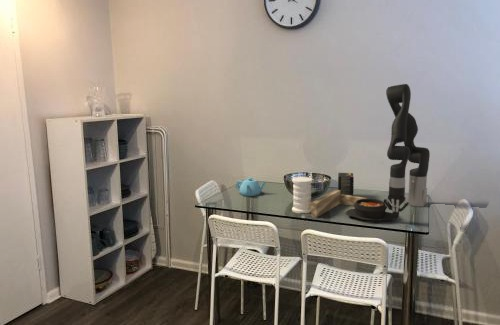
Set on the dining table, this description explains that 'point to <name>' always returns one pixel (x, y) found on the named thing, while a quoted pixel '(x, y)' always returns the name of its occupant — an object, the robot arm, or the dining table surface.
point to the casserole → (370, 210)
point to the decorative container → (302, 195)
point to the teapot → (249, 187)
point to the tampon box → (346, 183)
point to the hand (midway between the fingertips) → (395, 218)
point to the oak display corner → (331, 202)
